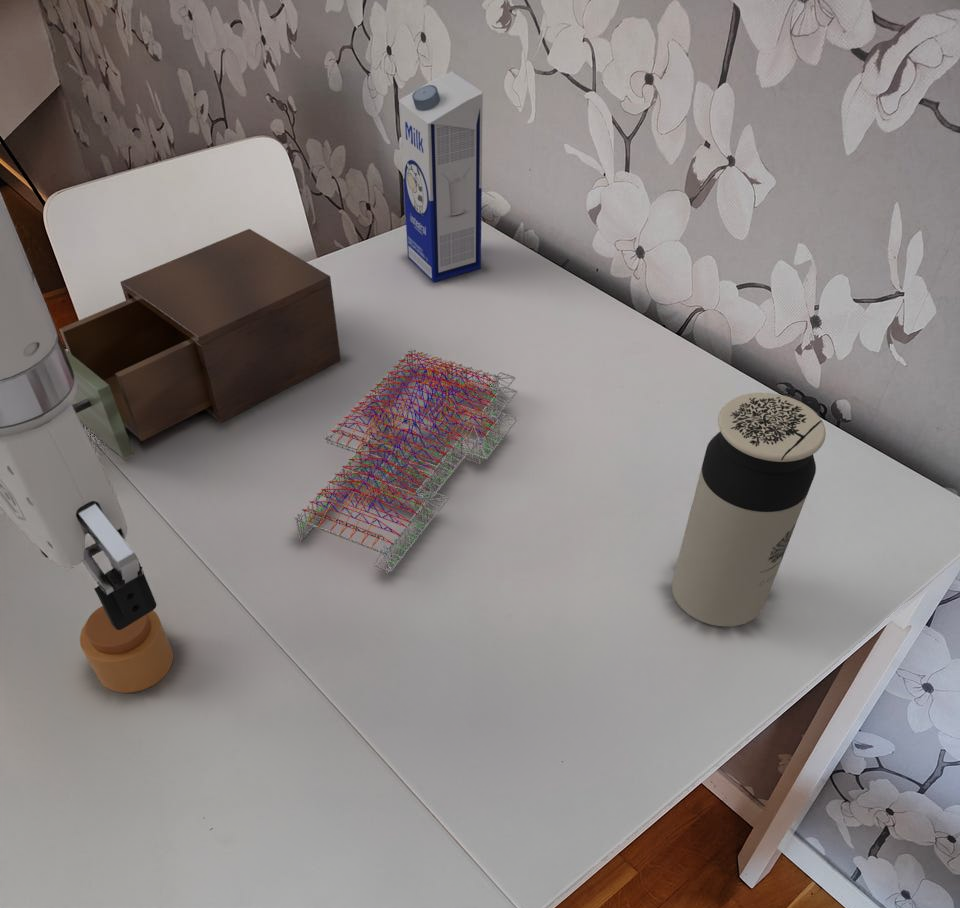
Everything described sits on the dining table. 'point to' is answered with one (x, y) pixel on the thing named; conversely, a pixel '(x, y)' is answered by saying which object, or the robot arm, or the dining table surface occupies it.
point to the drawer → (133, 374)
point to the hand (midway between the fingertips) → (99, 580)
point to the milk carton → (443, 176)
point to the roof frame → (405, 458)
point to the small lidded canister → (126, 651)
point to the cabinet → (245, 316)
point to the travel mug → (746, 506)
